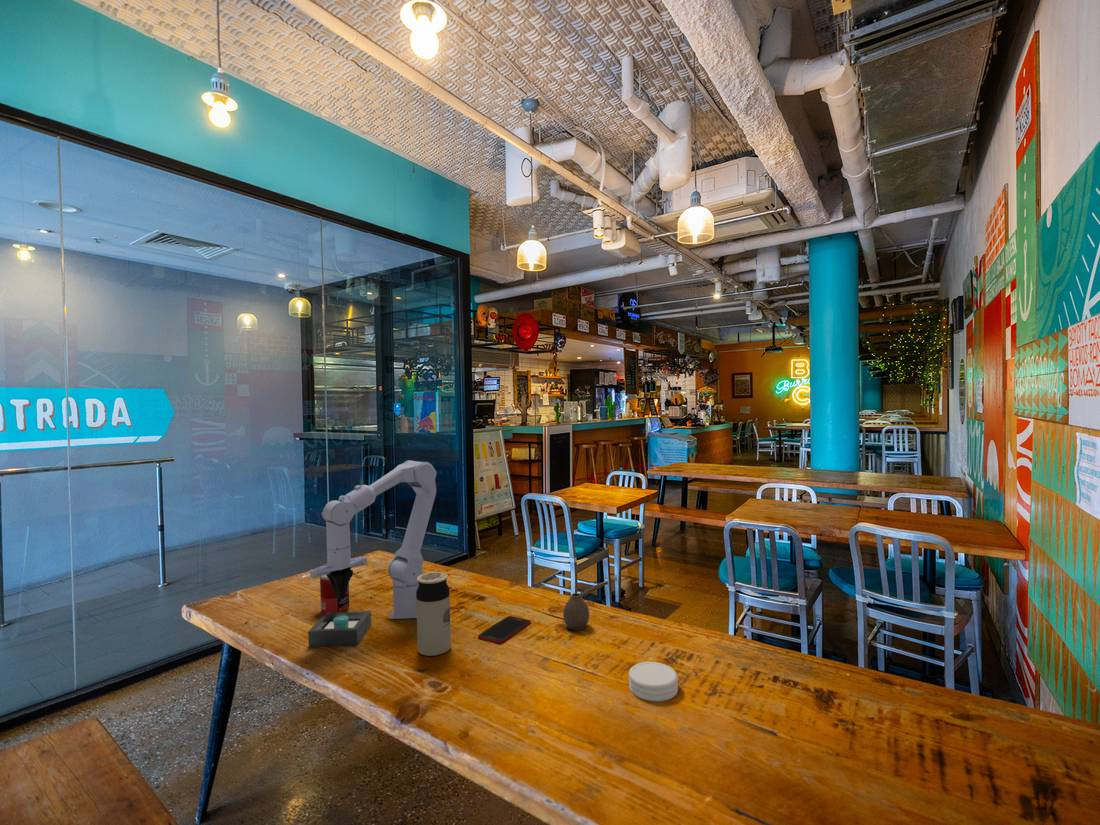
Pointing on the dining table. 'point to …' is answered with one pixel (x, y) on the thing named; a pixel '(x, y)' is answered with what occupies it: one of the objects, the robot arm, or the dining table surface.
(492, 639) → the cell phone
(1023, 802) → the dining table surface
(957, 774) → the dining table surface
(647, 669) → the coaster
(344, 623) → the plunger
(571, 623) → the vase
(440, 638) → the travel mug
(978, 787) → the dining table surface
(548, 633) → the dining table surface
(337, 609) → the canned food
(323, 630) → the press housing
